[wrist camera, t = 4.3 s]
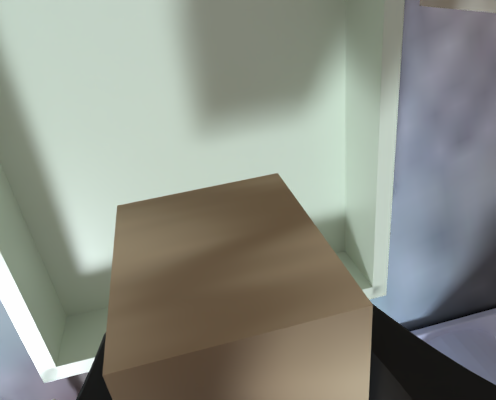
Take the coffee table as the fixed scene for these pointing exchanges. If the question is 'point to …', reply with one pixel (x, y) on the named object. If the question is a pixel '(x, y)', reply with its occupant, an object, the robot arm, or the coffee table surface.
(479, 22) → the coffee table surface
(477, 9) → the part birch
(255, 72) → the tray
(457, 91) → the coffee table surface
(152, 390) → the part oak
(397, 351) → the robot arm
